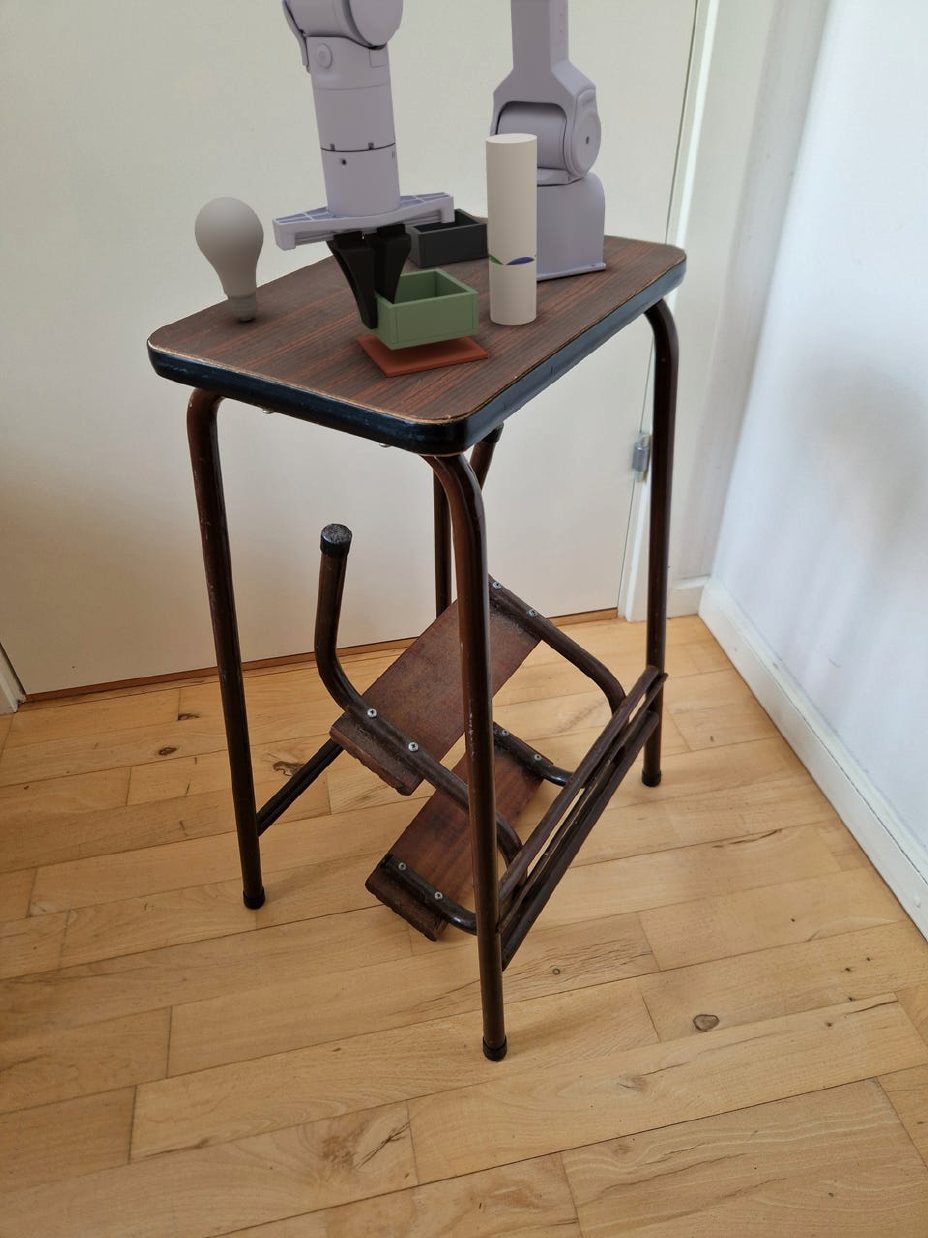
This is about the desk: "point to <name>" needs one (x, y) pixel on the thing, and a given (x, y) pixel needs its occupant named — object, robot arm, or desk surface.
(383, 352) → the mat
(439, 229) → the box
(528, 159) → the tube
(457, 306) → the box
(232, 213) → the lightbulb
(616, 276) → the desk surface
